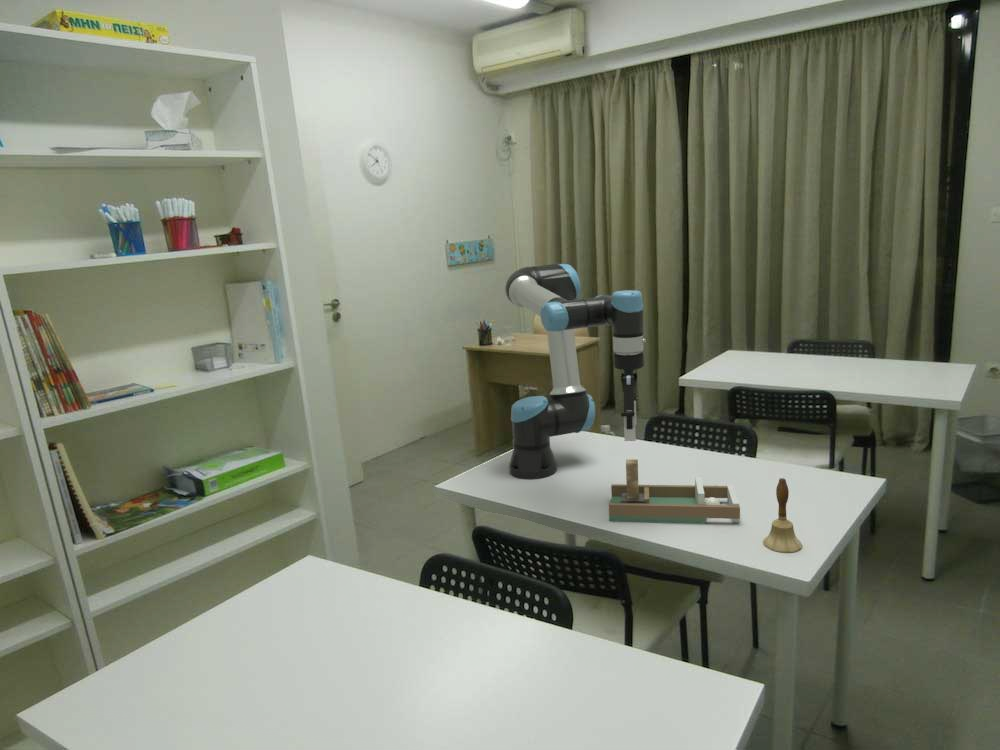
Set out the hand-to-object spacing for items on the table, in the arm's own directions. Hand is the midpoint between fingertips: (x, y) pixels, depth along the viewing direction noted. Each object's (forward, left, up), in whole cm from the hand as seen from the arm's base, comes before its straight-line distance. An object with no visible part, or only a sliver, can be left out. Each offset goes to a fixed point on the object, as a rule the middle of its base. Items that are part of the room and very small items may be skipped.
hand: (630, 432), depth 170 cm
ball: (+20, 0, -20) cm, 28 cm away
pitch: (+10, 0, -22) cm, 24 cm away
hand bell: (+34, -17, -22) cm, 44 cm away
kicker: (+1, 0, -20) cm, 20 cm away
